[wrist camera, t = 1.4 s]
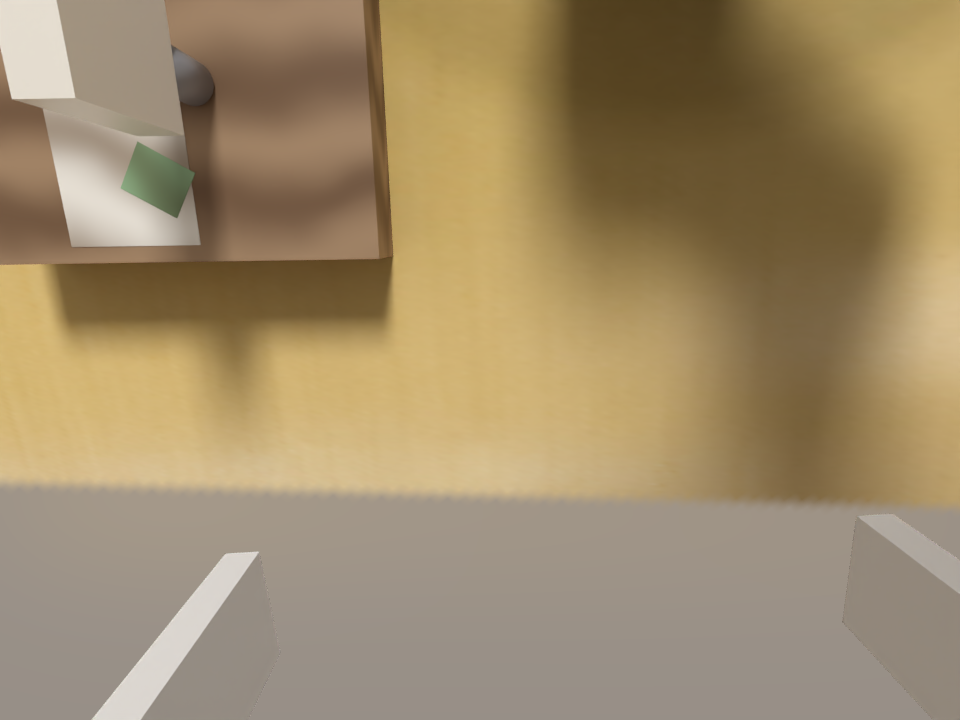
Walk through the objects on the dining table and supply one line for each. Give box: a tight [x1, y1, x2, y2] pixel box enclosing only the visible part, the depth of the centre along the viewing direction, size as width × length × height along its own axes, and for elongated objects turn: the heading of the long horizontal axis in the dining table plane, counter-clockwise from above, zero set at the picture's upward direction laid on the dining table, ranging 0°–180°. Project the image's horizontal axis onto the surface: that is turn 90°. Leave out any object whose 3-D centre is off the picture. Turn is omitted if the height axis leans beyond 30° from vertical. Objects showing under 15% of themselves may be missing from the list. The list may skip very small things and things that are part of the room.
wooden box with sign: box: [0, 0, 393, 265], centre depth 31 cm, size 20×24×5 cm
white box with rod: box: [0, 0, 214, 136], centre depth 23 cm, size 7×9×11 cm
